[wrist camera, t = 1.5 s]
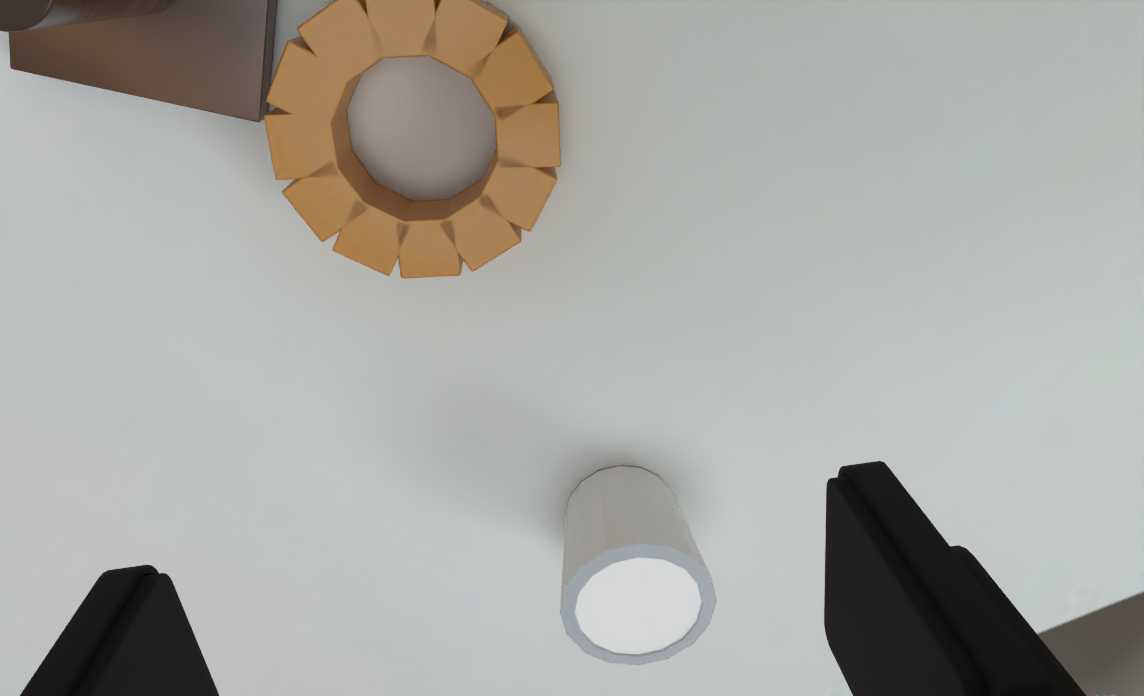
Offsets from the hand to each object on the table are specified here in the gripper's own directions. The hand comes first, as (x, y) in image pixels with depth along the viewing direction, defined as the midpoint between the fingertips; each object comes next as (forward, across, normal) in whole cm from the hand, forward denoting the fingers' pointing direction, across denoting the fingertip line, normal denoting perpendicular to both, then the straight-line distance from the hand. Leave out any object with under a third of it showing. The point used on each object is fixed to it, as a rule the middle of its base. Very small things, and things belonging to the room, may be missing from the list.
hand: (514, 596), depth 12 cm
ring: (+25, +3, -3) cm, 26 cm away
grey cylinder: (+26, -3, +18) cm, 31 cm away
